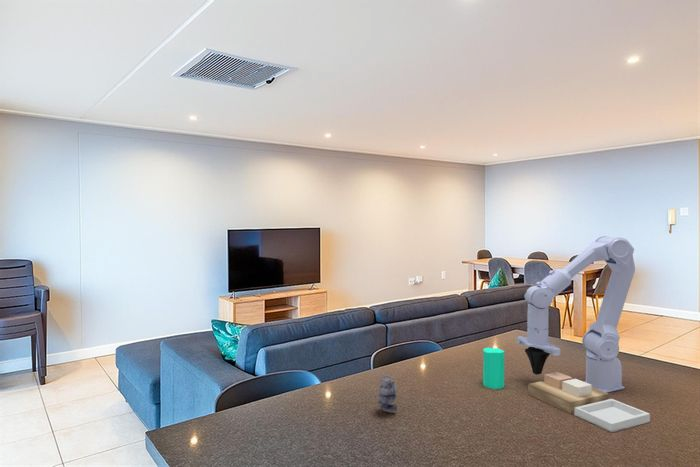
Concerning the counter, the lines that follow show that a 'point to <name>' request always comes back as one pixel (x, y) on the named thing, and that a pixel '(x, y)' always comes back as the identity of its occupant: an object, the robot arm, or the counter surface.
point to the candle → (493, 368)
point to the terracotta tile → (556, 379)
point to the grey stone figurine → (387, 394)
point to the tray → (612, 415)
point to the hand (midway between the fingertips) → (537, 373)
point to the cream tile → (577, 387)
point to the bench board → (564, 396)
